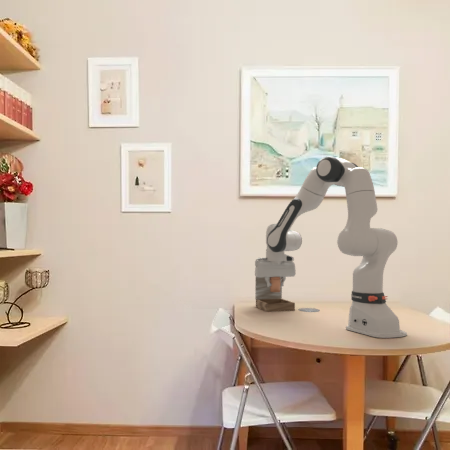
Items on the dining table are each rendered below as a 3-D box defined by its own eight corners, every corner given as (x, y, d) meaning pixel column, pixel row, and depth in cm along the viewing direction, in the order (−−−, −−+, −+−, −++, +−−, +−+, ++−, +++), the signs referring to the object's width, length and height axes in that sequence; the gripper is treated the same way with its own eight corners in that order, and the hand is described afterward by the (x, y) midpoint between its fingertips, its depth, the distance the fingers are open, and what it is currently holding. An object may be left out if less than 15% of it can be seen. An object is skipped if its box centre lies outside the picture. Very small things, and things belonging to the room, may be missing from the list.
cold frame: (295, 311, 194) (295, 273, 194) (266, 312, 189) (267, 273, 190) (281, 306, 208) (281, 270, 208) (254, 307, 203) (255, 270, 204)
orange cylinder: (282, 292, 196) (282, 277, 197) (272, 292, 195) (272, 277, 195) (277, 290, 201) (277, 276, 201) (268, 291, 199) (268, 276, 200)
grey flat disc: (324, 312, 192) (324, 311, 192) (304, 313, 189) (304, 312, 189) (312, 308, 201) (312, 307, 201) (294, 309, 198) (294, 308, 198)
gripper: (257, 258, 192) (257, 287, 192) (297, 257, 199) (297, 286, 198) (252, 257, 198) (252, 286, 198) (290, 257, 205) (291, 285, 204)
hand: (275, 286), depth 198 cm, fingers closed on orange cylinder, 5 cm apart
